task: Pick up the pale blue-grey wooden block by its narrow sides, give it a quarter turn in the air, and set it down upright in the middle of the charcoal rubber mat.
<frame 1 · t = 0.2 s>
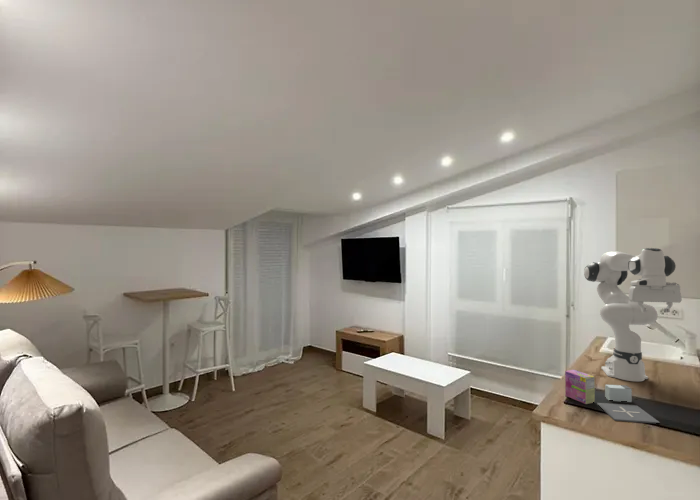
hand: (655, 312, 179), 39 cm above the worktop, tool pointing down, fingers open, 8 cm apart
box: (579, 399, 174), on the worktop
mat: (626, 413, 160), on the worktop
block: (618, 399, 174), on the worktop
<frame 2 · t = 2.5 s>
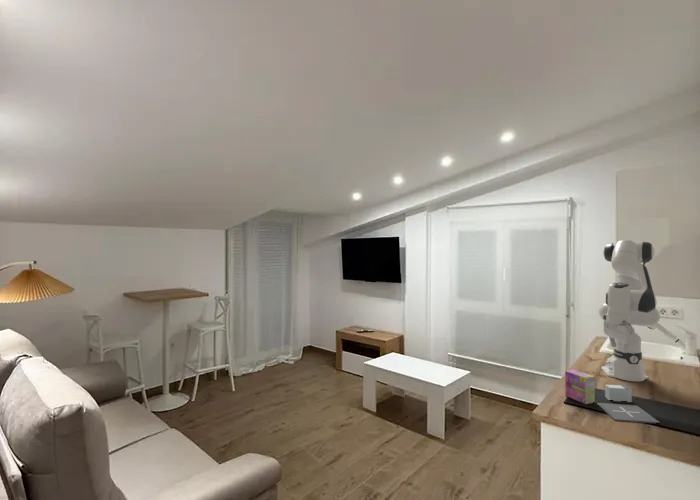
hand: (618, 349, 173), 23 cm above the worktop, tool pointing down, fingers open, 8 cm apart
nothing on the worktop moved.
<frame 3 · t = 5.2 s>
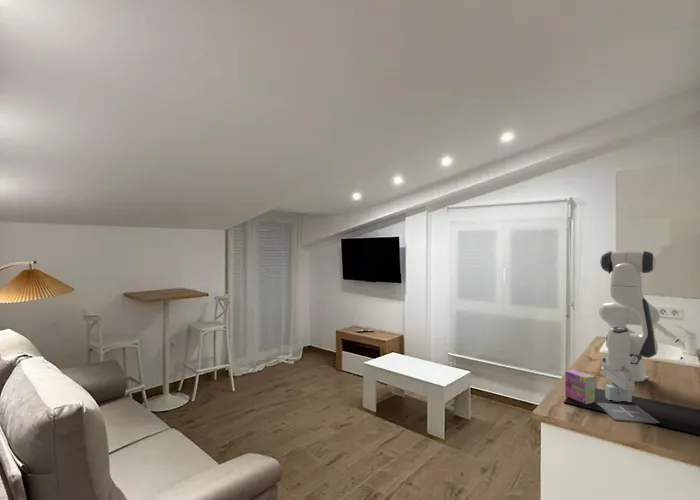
hand: (618, 393, 174), 3 cm above the worktop, tool pointing down, fingers closed on block, 4 cm apart
block: (618, 399, 174), on the worktop, touching gripper
everything else where it was.
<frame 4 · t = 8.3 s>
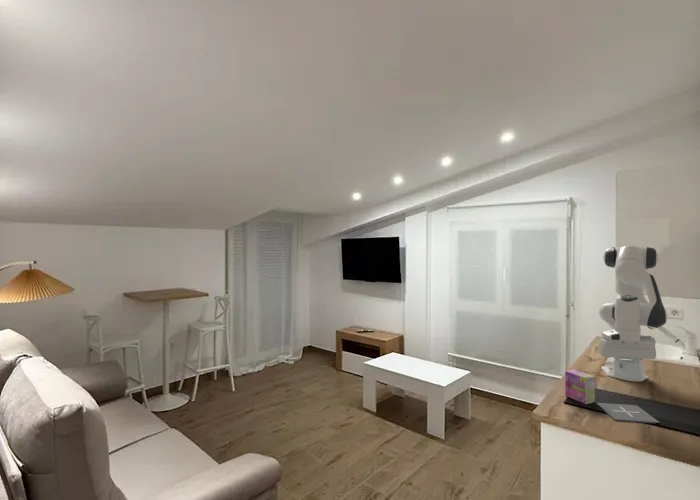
hand: (626, 368, 159), 19 cm above the worktop, tool pointing down, fingers closed on block, 4 cm apart
block: (626, 374, 159), point 16 cm above the worktop, touching gripper
everything else where it was.
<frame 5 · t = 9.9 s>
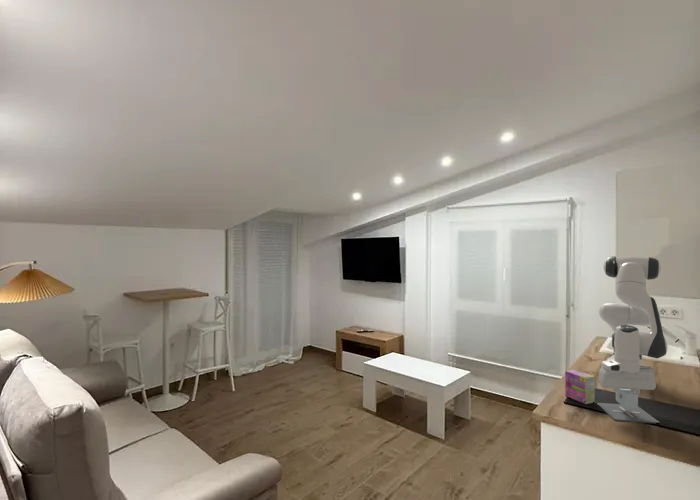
hand: (626, 398, 159), 6 cm above the worktop, tool pointing down, fingers closed on block, 4 cm apart
block: (626, 404, 159), point 4 cm above the worktop, touching gripper
everything else where it was.
when the fingers open (4 cm above the worktop, at t = 11.0 s): block drops 1 cm, resting on mat.
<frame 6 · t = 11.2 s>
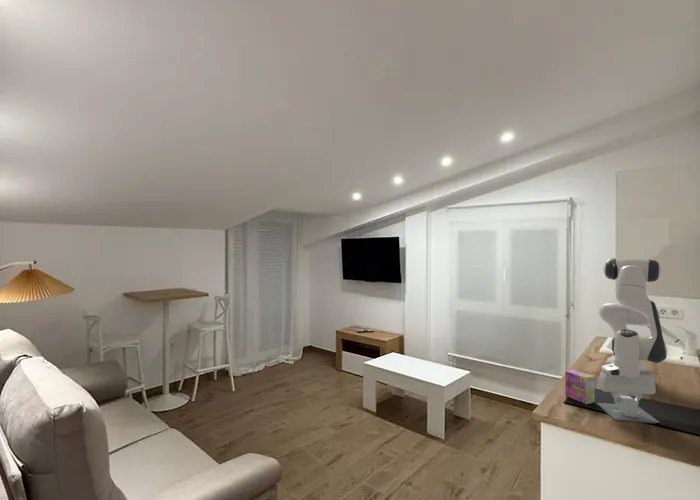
hand: (626, 402, 160), 4 cm above the worktop, tool pointing down, fingers open, 6 cm apart
block: (626, 411, 160), point 1 cm above the worktop, touching mat
everything else where it was.
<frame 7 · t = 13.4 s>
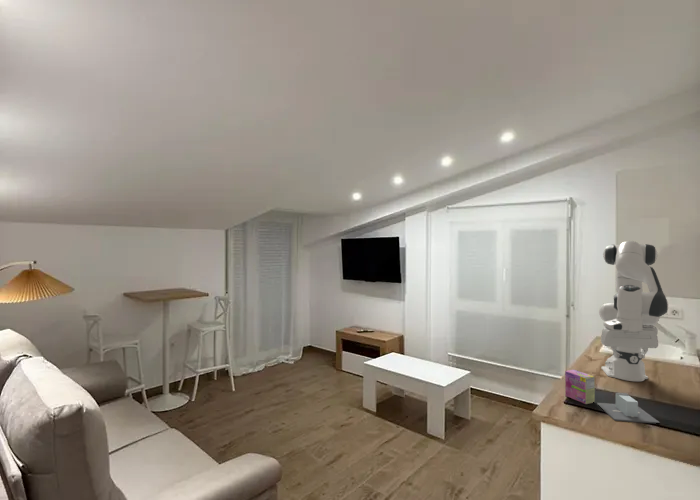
hand: (628, 357, 161), 23 cm above the worktop, tool pointing down, fingers open, 8 cm apart
nothing on the worktop moved.
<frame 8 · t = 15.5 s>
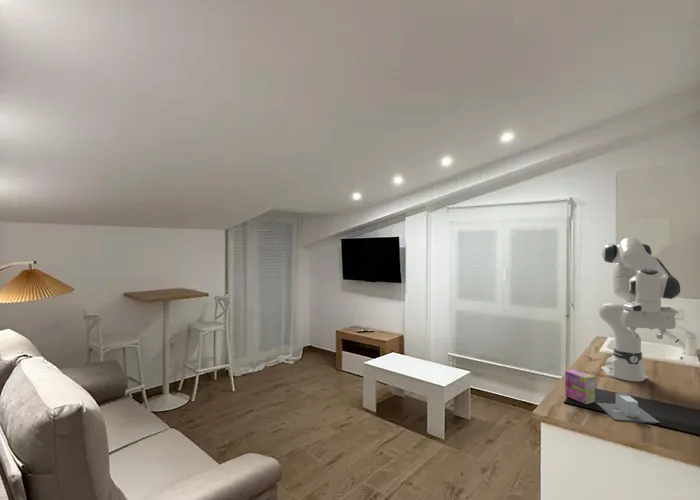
hand: (647, 338, 168), 29 cm above the worktop, tool pointing down, fingers open, 8 cm apart
nothing on the worktop moved.
at the end: block inside the target area on the mat (0.0 cm from its centre), point 0.7 cm above the mat's base; block tilted 0°; the gripper is holding nothing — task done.
